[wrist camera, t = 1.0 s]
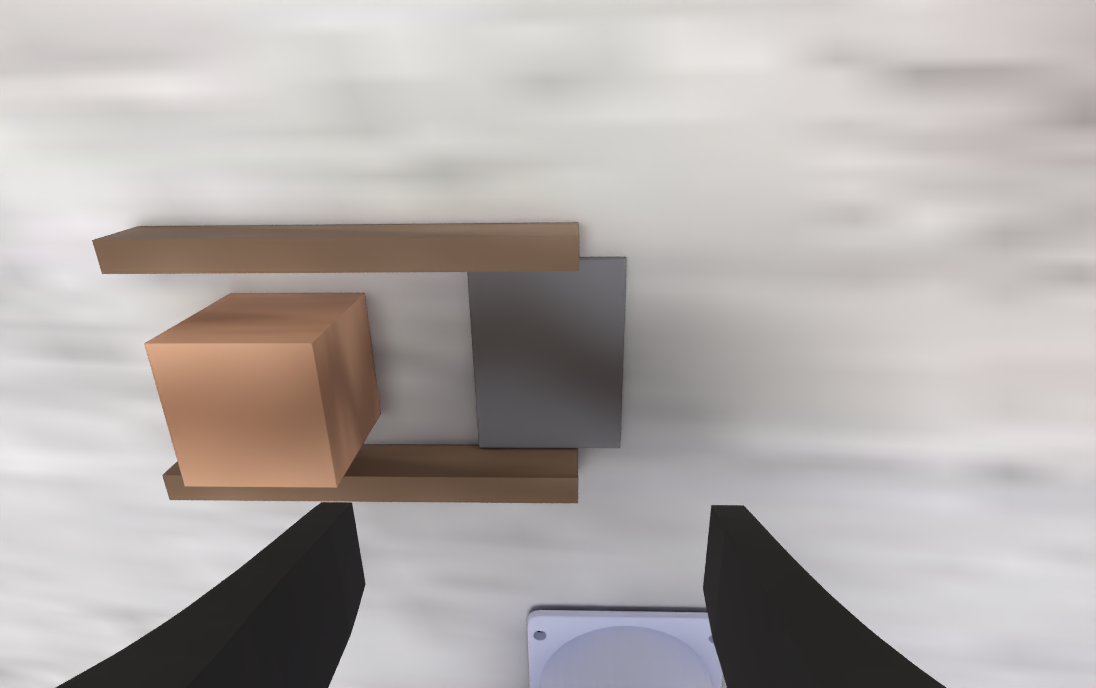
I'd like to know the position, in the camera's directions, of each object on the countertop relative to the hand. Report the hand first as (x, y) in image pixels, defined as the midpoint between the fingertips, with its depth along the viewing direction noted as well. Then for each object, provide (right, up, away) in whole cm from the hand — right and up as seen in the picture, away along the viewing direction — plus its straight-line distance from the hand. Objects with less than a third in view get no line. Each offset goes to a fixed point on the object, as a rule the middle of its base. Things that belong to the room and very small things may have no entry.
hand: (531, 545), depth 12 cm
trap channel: (-6, +3, +9) cm, 11 cm away
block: (-8, +4, +9) cm, 13 cm away
